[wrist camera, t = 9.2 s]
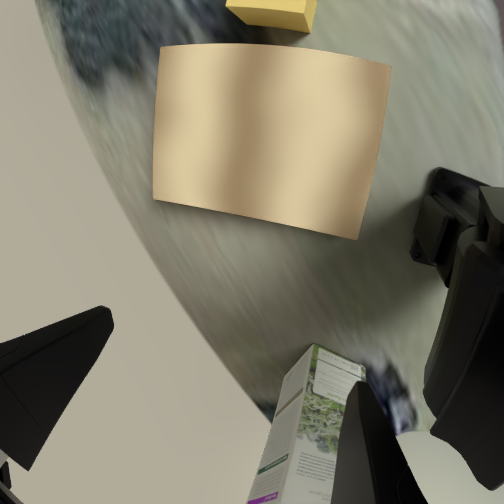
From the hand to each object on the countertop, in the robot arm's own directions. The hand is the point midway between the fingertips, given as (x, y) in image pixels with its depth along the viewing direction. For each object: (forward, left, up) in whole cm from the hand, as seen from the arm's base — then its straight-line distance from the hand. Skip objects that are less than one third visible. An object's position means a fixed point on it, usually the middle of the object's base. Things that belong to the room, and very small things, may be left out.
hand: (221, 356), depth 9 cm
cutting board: (+2, -6, -12) cm, 14 cm away
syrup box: (-6, +13, -12) cm, 19 cm away
